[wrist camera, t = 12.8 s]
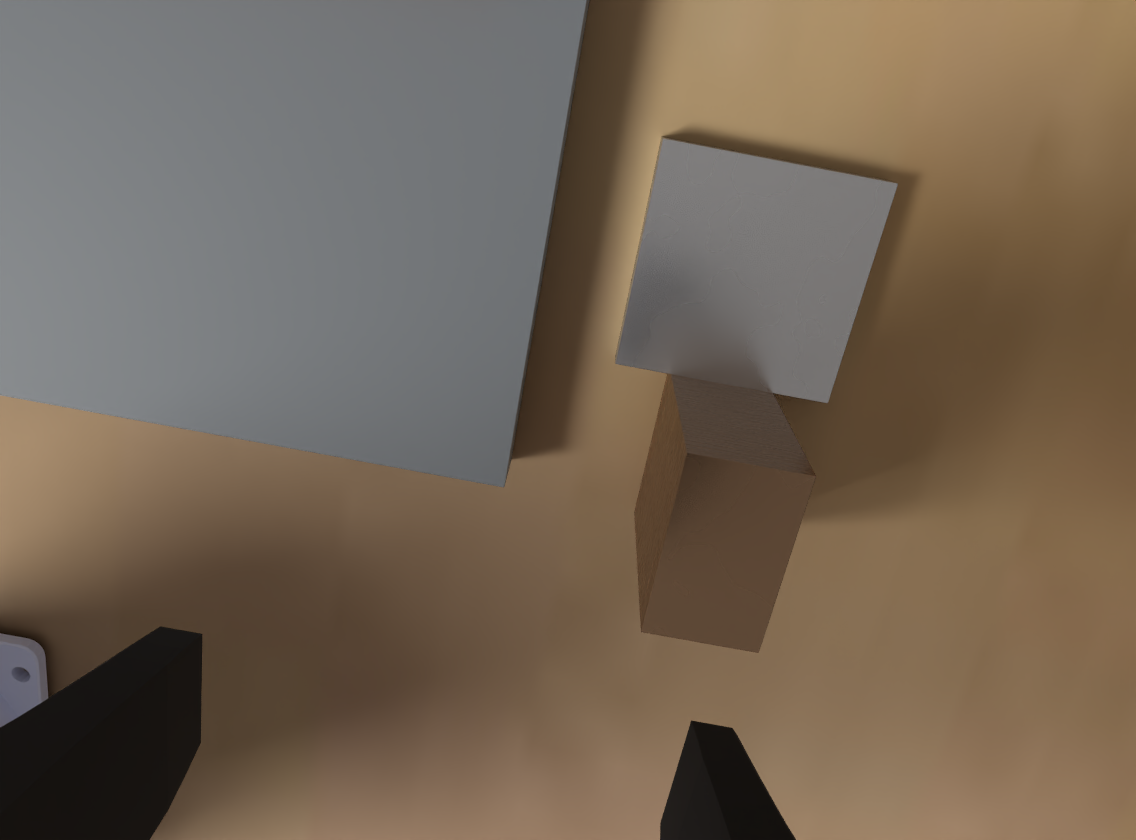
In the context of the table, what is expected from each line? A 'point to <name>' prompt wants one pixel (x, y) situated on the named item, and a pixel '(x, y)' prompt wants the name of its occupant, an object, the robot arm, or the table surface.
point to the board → (284, 216)
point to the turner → (736, 371)
